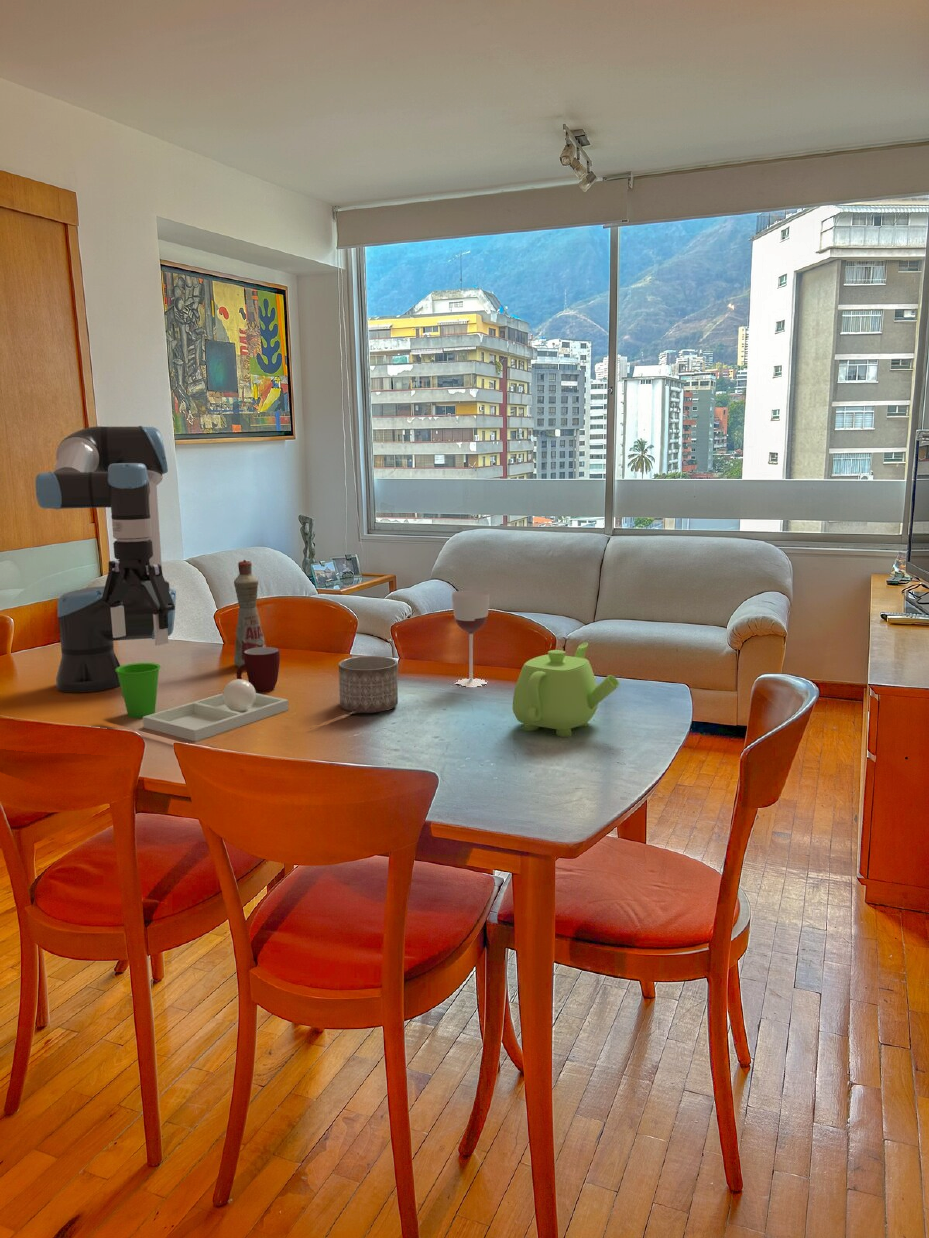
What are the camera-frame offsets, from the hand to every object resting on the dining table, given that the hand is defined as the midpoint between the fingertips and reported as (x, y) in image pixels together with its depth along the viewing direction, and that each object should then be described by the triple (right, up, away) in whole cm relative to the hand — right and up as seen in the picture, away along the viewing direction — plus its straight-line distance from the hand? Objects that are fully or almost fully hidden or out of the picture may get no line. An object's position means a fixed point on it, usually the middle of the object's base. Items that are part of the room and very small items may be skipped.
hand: (140, 640), depth 189 cm
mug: (+20, -13, +21) cm, 32 cm away
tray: (+16, -17, 0) cm, 24 cm away
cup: (-1, -17, +3) cm, 17 cm away
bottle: (+12, -8, +48) cm, 50 cm away
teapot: (+90, -18, -4) cm, 92 cm away
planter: (+47, -15, +9) cm, 50 cm away
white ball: (+20, -15, +4) cm, 25 cm away
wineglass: (+70, -11, +30) cm, 76 cm away
